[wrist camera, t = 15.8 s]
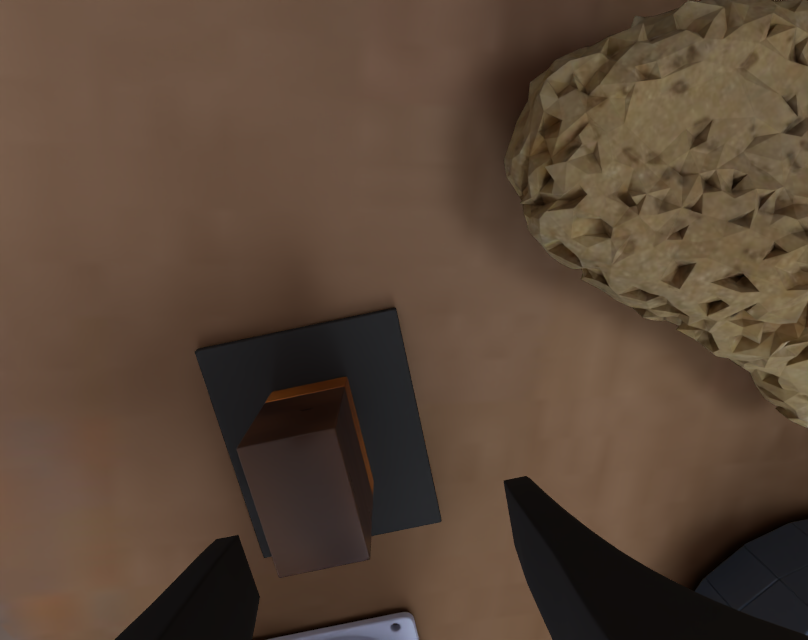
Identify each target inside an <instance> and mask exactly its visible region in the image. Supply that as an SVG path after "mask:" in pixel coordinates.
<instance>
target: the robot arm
mask: <svg viewBox="0 0 808 640" xmlns="http://www.w3.org/2000/svg"><path fill="white" fill-rule="evenodd" d="M504 486H505V492H506V498H507V504H508V510H509V515H510V521H511V527H512V533H513V539H514V545H515V548H516V551H517V554H518V557H519V560H520V563H521V566H522V569H523V572H524V575H525V578H526V581H527V584H528V586H529V588H530V591H531V593H532V595H533V597H534V600H535V602H536V604H537V606H538V608H539V611H540V613H541V615H542V617H543V619H544V622H545V624H546V626H547V628H548V630H549V633H550V635H551V637H552V639H553V640H808V635H805V634H802V633H799V632H796V631H793V630H790V629H788V628H785V627H782V626H779V625H776V624H773V623H770V622H768V621H765V620H762V619H759V618H756V617H753V616H751V615H748V614H746V613H743V612H741V611H739V610H736V609H734V608H731V607H729V606H726V605H724V604H722V603H719V602H717V601H714V600H712V599H710V598H708V597H706V596H703V595H701V594H699V593H697V592H695V591H692V590H690V589H688V588H686V587H684V586H682V585H680V584H678V583H676V582H674V581H672V580H670V579H668V578H666V577H664V576H663V575H661V574H659V573H657V572H655V571H653V570H651V569H650V568H648V567H646V566H644V565H643V564H641V563H639V562H638V561H636V560H634V559H633V558H631V557H629V556H628V555H626V554H625V553H623V552H621V551H620V550H618V549H617V548H615V547H614V546H612V545H611V544H609V543H608V542H607V541H605V540H604V539H602V538H601V537H600V536H598V535H597V534H595V533H594V532H593V531H591V530H590V529H589V528H587V527H586V526H585V525H583V524H582V523H581V522H580V521H578V520H577V519H576V518H575V517H573V516H572V515H571V514H570V513H568V512H567V511H566V510H565V509H563V508H562V507H561V506H560V505H559V504H557V503H556V502H555V501H554V500H553V499H552V498H551V497H549V496H548V495H547V494H546V493H545V492H544V491H543V490H542V489H541V488H540V487H539V486H537V485H536V484H535V483H534V482H533V481H532V480H531V479H530V478H528V477H527V476H524V477H519V478H514V479H509V480H504ZM259 598H260V596H259V593H258V590H257V587H256V584H255V582H254V579H253V576H252V573H251V570H250V567H249V564H248V561H247V559H246V556H245V553H244V550H243V547H242V544H241V541H240V538H239V535H235V536H231V537H226V538H221V539H216V540H215V541H214V542H213V543H212V544H211V545H209V546H208V547H207V548H206V549H205V550H204V551H203V552H202V553H201V554H200V555H199V556H198V557H197V558H196V559H195V560H194V561H193V562H192V563H191V564H190V565H189V566H188V567H187V569H186V570H185V571H184V572H183V573H182V574H181V575H180V576H179V577H178V578H177V579H176V580H175V581H174V582H173V583H172V584H171V585H170V586H169V587H168V588H167V589H166V590H165V591H164V592H163V593H162V594H161V595H160V596H159V597H158V598H157V599H156V600H155V601H154V602H153V603H152V604H151V605H150V606H149V607H148V608H147V609H146V610H145V611H144V612H143V613H142V614H141V615H140V616H139V617H138V618H137V619H136V620H135V621H133V622H132V623H131V624H130V625H129V626H128V627H127V628H126V629H125V630H124V631H123V632H122V633H121V634H120V635H119V636H118V637H117V638H116V639H115V640H252V637H253V632H254V627H255V622H256V616H257V610H258V604H259ZM394 623H397V625H393V624H394ZM266 640H419V637H418V633H417V629H416V625H415V621H414V617H413V615H412V614H410V613H408V612H400V613H395V614H390V615H385V616H380V617H375V618H370V619H365V620H361V621H356V622H351V623H346V624H341V625H336V626H331V627H326V628H321V629H316V630H311V631H306V632H301V633H296V634H291V635H286V636H281V637H276V638H271V639H266Z"/></svg>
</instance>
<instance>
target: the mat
mask: <svg viewBox="0 0 808 640" xmlns="http://www.w3.org/2000/svg"><path fill="white" fill-rule="evenodd" d="M195 354H196V357H197V360H198V363H199V366H200V369H201V372H202V375H203V378H204V381H205V384H206V387H207V390H208V393H209V396H210V399H211V402H212V405H213V408H214V411H215V414H216V417H217V420H218V423H219V426H220V429H221V432H222V435H223V438H224V441H225V444H226V447H227V450H228V453H229V455H230V458H231V461H232V464H233V467H234V470H235V473H236V476H237V479H238V482H239V485H240V488H241V491H242V494H243V497H244V500H245V503H246V506H247V509H248V512H249V515H250V518H251V521H252V524H253V527H254V530H255V533H256V536H257V539H258V542H259V545H260V548H261V551H262V554H263V557H264V558H266V557H271V556H272V555H271V552H270V549H269V546H268V543H267V540H266V537H265V534H264V531H263V528H262V525H261V522H260V519H259V516H258V513H257V510H256V507H255V504H254V501H253V498H252V495H251V492H250V489H249V486H248V483H247V480H246V477H245V474H244V471H243V468H242V465H241V462H240V459H239V455H238V452H237V447H238V445H239V444H240V442H241V440H242V439H243V437H244V436H245V434H246V432H247V431H248V429H249V428H250V426H251V424H252V423H253V421H254V419H255V418H256V416H257V415H258V413H259V411H260V410H261V408H262V407H263V405H264V403H265V402H266V400H267V399H268V397H269V395H270V394H271V392H274V391H278V390H283V389H288V388H293V387H298V386H302V385H307V384H312V383H317V382H322V381H326V380H331V379H336V378H341V377H347V378H348V381H349V385H350V389H351V393H352V397H353V401H354V405H355V409H356V413H357V417H358V421H359V425H360V429H361V433H362V437H363V441H364V445H365V449H366V453H367V457H368V461H369V464H370V468H371V472H372V476H373V480H374V485H373V509H372V532H371V536H374V535H379V534H384V533H389V532H394V531H399V530H404V529H409V528H414V527H419V526H423V525H428V524H433V523H438V522H441V515H440V511H439V506H438V502H437V497H436V492H435V488H434V483H433V478H432V474H431V469H430V464H429V460H428V455H427V450H426V446H425V441H424V436H423V432H422V427H421V422H420V418H419V413H418V409H417V404H416V399H415V395H414V390H413V385H412V381H411V376H410V371H409V367H408V362H407V357H406V353H405V348H404V343H403V339H402V334H401V330H400V325H399V320H398V316H397V311H396V308H391V309H386V310H381V311H376V312H371V313H367V314H362V315H357V316H352V317H348V318H343V319H338V320H333V321H328V322H324V323H319V324H314V325H309V326H305V327H300V328H295V329H290V330H285V331H281V332H276V333H271V334H266V335H262V336H257V337H252V338H247V339H243V340H238V341H233V342H228V343H223V344H219V345H214V346H209V347H204V348H200V349H197V350H196V351H195Z"/></svg>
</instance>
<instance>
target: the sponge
mask: <svg viewBox="0 0 808 640" xmlns="http://www.w3.org/2000/svg"><path fill="white" fill-rule="evenodd" d="M528 98H529V100H528V101H527V103H526V105H525V107H524V109H523V111H522V113H521V114H520V116H519V118H518V120H517V123H516V126H515V129H514V132H513V135H512V138H511V141H510V144H509V146H508V149H507V152H506V155H505V157H504V164H505V170H506V176H507V178H508V180H509V181H510V183H511V184H512V186H513V187H514V189H515V191H516V192H517V194H518V195H519V197H520V198H521V200H522V201H521V203H523V212H524V216H525V218H526V221H527V223H528V225H527V228H528V230H529V231H530V233H531V235H532V236H533V237H534V238H535V239H536V240H537V241H538V242H539V243H540V244H541V246H542V247H543V248H544V249H545V251H546V252H547V253H548V254H549V255H550V256H551V257H553V258H554V259H555V260H557V261H558V262H560V263H561V264H562V265H565V266H567V267H569V268H571V269H580V268H581V269H582V272H583V274H582V277H581V280H583V281H585V282H587V283H589V284H591V285H593V286H595V287H596V288H598V289H600V290H602V291H604V292H605V293H607V294H608V295H609V296H611V297H612V298H613V299H615V300H616V301H619V302H621V303H623V304H625V305H627V306H629V307H632V308H633V309H634V310H635V311H636V312H638V313H639V314H640V315H641V316H642V317H643V318H646V319H649V320H657V321H664V320H666V321H669V322H671V323H674V324H676V325H679V327H678V328H677V329H676V330H678V331H680V332H682V333H684V334H685V335H687V336H689V337H691V338H693V339H695V340H696V341H698V342H699V343H700V344H702V345H703V346H704V347H705V348H706V349H708V350H709V351H710V352H711V353H713V354H714V355H715V356H717V357H723V358H729V359H730V360H732V361H733V362H734V363H735V364H737V365H739V366H740V367H742V368H744V369H746V370H747V371H749V372H750V374H751V376H752V379H753V381H754V383H755V385H756V387H757V388H758V390H759V391H760V393H761V394H762V396H763V397H764V399H766V400H767V401H769V402H770V403H772V404H773V405H776V406H778V407H777V408H776V410H778V411H779V412H780V413H781V414H783V415H784V416H785V417H786V418H788V419H789V420H791V421H792V422H794V423H797V424H799V425H801V426H804V427H806V428H808V1H806V0H788V1H773V0H701V1H698V2H693V1H687V2H686V3H685V4H683V5H682V6H681V7H680V8H678V9H675V10H672V11H669V12H666V13H663V14H660V15H656V16H651V17H639V16H635V17H634V20H633V23H632V26H631V28H630V29H627V30H625V31H622V32H620V33H617V34H615V35H612V36H609V37H607V38H605V39H604V40H602V41H600V42H598V43H596V44H595V45H593V46H586V47H584V48H581V49H579V50H576V51H574V52H571V53H569V54H567V55H565V56H563V57H561V58H559V59H557V60H555V61H554V62H553V64H552V65H551V66H550V68H549V69H548V70H546V71H545V72H543V73H542V74H541V75H539V76H538V77H537V78H535V79H534V80H533V81H531V82H530V88H529V97H528Z"/></svg>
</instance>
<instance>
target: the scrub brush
mask: <svg viewBox="0 0 808 640" xmlns="http://www.w3.org/2000/svg"><path fill="white" fill-rule="evenodd" d="M237 452H238V455H239V459H240V462H241V465H242V468H243V471H244V474H245V477H246V480H247V483H248V486H249V489H250V492H251V495H252V498H253V501H254V504H255V507H256V510H257V513H258V516H259V519H260V522H261V525H262V528H263V531H264V534H265V537H266V540H267V543H268V546H269V549H270V552H271V555H272V558H273V561H274V564H275V567H276V570H277V573H278V576H279V578H282V577H287V576H292V575H297V574H302V573H307V572H311V571H316V570H321V569H326V568H331V567H336V566H341V565H346V564H351V563H356V562H360V561H365V560H369V559H370V555H371V532H372V509H373V485H374V480H373V476H372V472H371V468H370V464H369V461H368V457H367V453H366V449H365V445H364V441H363V437H362V433H361V429H360V425H359V421H358V417H357V413H356V409H355V405H354V401H353V397H352V393H351V389H350V385H349V381H348V378H347V377H341V378H336V379H331V380H326V381H322V382H317V383H312V384H307V385H302V386H298V387H293V388H288V389H283V390H278V391H274V392H271V394H270V395H269V397H268V399H267V400H266V402H265V403H264V405H263V407H262V408H261V410H260V411H259V413H258V415H257V416H256V418H255V419H254V421H253V423H252V424H251V426H250V428H249V429H248V431H247V432H246V434H245V436H244V437H243V439H242V440H241V442H240V444H239V445H238V447H237Z"/></svg>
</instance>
